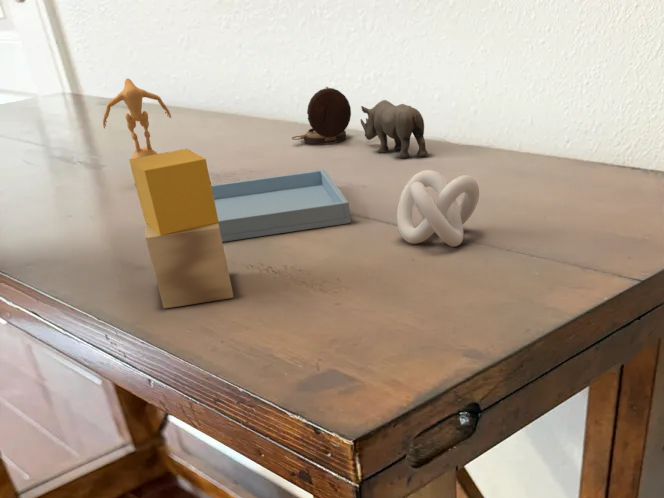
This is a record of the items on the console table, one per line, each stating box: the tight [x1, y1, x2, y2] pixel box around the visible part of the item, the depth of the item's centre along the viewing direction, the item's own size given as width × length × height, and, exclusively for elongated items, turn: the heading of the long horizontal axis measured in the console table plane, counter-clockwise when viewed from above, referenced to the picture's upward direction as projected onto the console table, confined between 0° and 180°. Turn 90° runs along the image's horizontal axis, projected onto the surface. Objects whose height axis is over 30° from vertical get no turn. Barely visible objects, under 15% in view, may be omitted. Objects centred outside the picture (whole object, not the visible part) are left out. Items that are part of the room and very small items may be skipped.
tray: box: [211, 169, 352, 243], centre depth 89 cm, size 17×15×2 cm
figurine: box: [102, 77, 172, 159], centre depth 101 cm, size 8×6×12 cm
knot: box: [396, 169, 480, 247], centre depth 77 cm, size 8×8×6 cm
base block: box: [145, 222, 235, 309], centre depth 70 cm, size 6×6×6 cm
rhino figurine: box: [360, 99, 429, 159], centre depth 108 cm, size 4×14×6 cm, turn 35°
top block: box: [128, 148, 219, 235], centre depth 67 cm, size 5×5×5 cm
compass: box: [291, 86, 352, 145], centre depth 115 cm, size 8×8×7 cm
